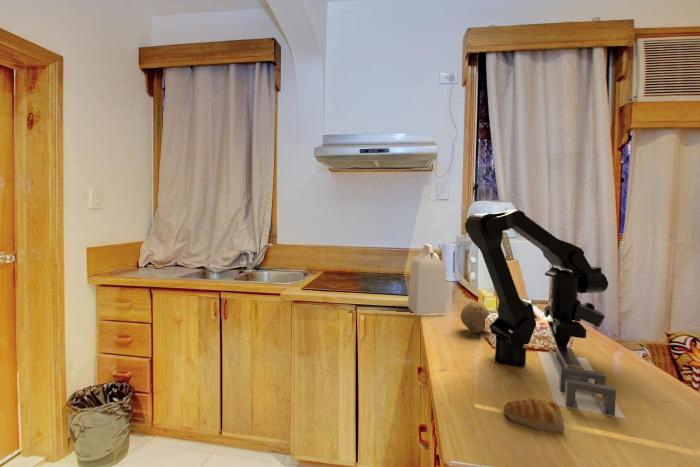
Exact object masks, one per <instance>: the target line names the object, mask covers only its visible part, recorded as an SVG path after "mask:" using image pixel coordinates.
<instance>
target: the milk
mask: <svg viewBox="0 0 700 467" xmlns="http://www.w3.org/2000/svg"><path fill="white" fill-rule="evenodd" d="M409 271H410V272H409V283H408V284H409V286H408V299H407V300H408V301H407V308H408V309H409V310H410V311H411V312H413V314H414V315H416V317H422V316H421V315H422V314H429V313H447V312H448V311H447V272H446V271H447V268H446V265H445V263H444V262H443V261H442V260H441V259H440V256H439V255H438V254H437V253H435V252H434V248H433V245H431V244H428V243H423V246H422V250H421V252H420V253H419V254H418V255H417V256H415V257H414V258H413V259H412V260H411V262H410V270H409Z"/></svg>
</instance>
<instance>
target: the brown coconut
mask: <svg viewBox="0 0 700 467" xmlns="http://www.w3.org/2000/svg"><path fill="white" fill-rule="evenodd" d="M488 315H490V316H491V314H490V311H489V310H488V309H487V307H486V306H485V305H484V304H482V303H481V302H479V301H471V302H470V301H469V302H468V303H467V304H465V305H464V306H463V309H462V310H461V312H460V319H461V322H462V323H463V325H464V326H465V327H466V328H467V329H468V330H469V331H470V332H471V333H473V334H475V333H478V334H480V333H482V332H483V331H485V330H486V329H485V319H486V317H487V316H488Z"/></svg>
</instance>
